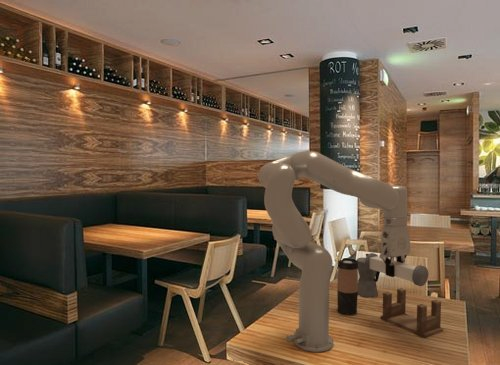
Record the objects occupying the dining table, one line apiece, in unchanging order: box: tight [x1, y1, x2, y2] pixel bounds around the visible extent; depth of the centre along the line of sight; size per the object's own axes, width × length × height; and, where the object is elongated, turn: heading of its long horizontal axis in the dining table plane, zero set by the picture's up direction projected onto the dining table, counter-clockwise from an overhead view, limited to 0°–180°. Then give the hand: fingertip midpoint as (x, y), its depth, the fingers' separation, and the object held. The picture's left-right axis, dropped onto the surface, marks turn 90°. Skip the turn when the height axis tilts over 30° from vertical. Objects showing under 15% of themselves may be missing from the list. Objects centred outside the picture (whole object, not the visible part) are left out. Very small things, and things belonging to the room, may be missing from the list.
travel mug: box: [336, 258, 359, 316], centre depth 145 cm, size 8×8×20 cm
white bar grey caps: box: [364, 252, 429, 287], centre depth 128 cm, size 21×6×6 cm, turn 30°
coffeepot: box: [356, 253, 381, 298], centre depth 164 cm, size 15×9×18 cm, turn 17°
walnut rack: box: [380, 287, 444, 339], centre depth 134 cm, size 18×10×10 cm, turn 31°
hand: (394, 274), depth 128 cm, fingers closed on white bar grey caps, 4 cm apart
